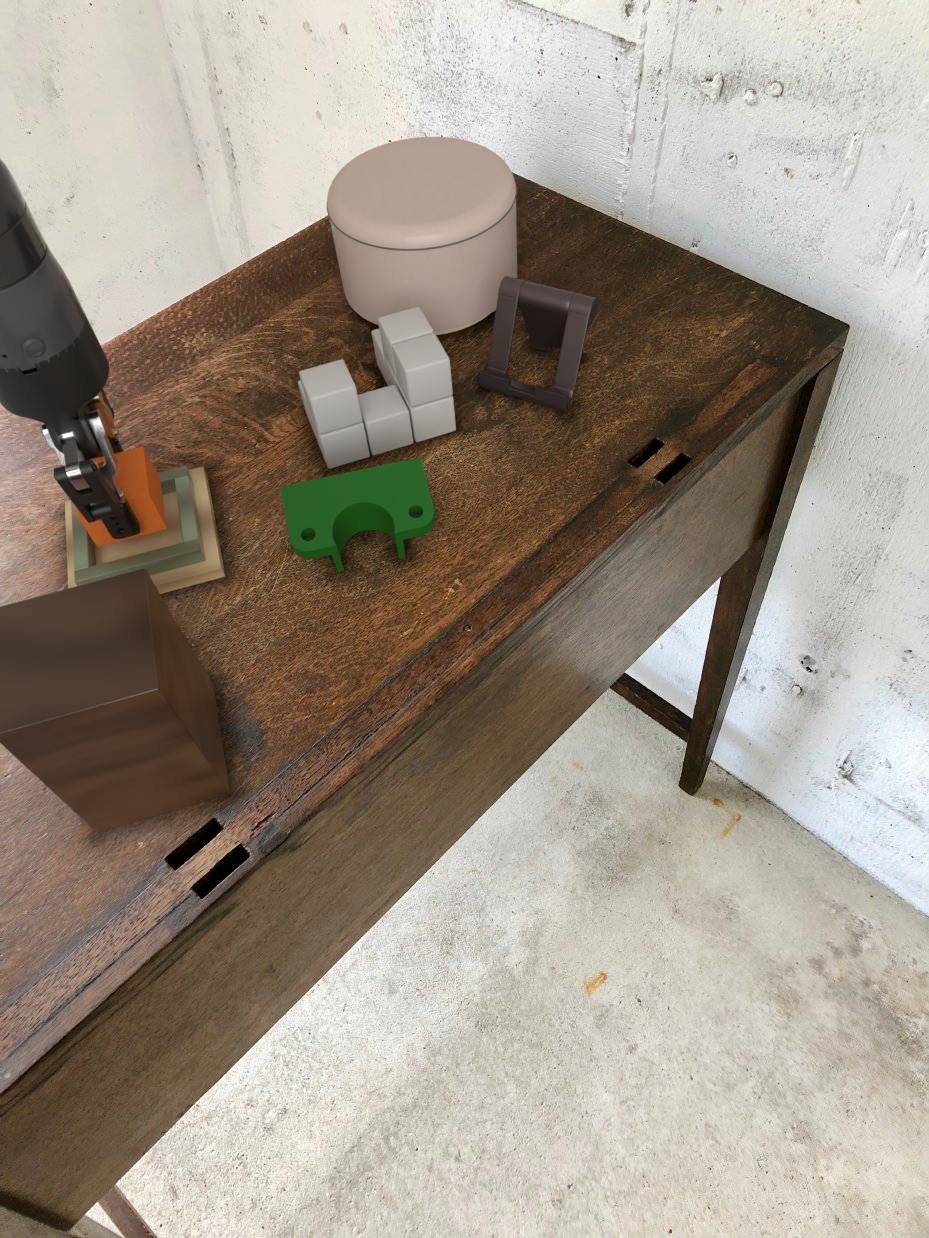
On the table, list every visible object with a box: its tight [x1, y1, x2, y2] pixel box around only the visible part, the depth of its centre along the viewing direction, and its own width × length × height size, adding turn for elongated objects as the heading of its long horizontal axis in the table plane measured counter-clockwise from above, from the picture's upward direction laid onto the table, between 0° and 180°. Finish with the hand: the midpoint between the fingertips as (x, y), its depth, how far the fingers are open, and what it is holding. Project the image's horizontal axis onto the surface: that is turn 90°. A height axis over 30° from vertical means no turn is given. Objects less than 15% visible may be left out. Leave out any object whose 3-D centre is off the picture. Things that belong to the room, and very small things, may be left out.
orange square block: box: [75, 446, 167, 547], centre depth 69 cm, size 6×6×4 cm
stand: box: [0, 569, 231, 834], centre depth 56 cm, size 9×9×14 cm
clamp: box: [279, 457, 436, 573], centre depth 69 cm, size 12×6×9 cm, turn 97°
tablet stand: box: [478, 276, 599, 413], centre depth 78 cm, size 9×8×8 cm
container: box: [326, 136, 518, 336], centre depth 86 cm, size 18×18×12 cm
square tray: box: [64, 465, 226, 595], centre depth 72 cm, size 12×12×3 cm
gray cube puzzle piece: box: [297, 307, 457, 470], centre depth 78 cm, size 12×12×8 cm
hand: (124, 505), depth 69 cm, fingers closed on orange square block, 5 cm apart
